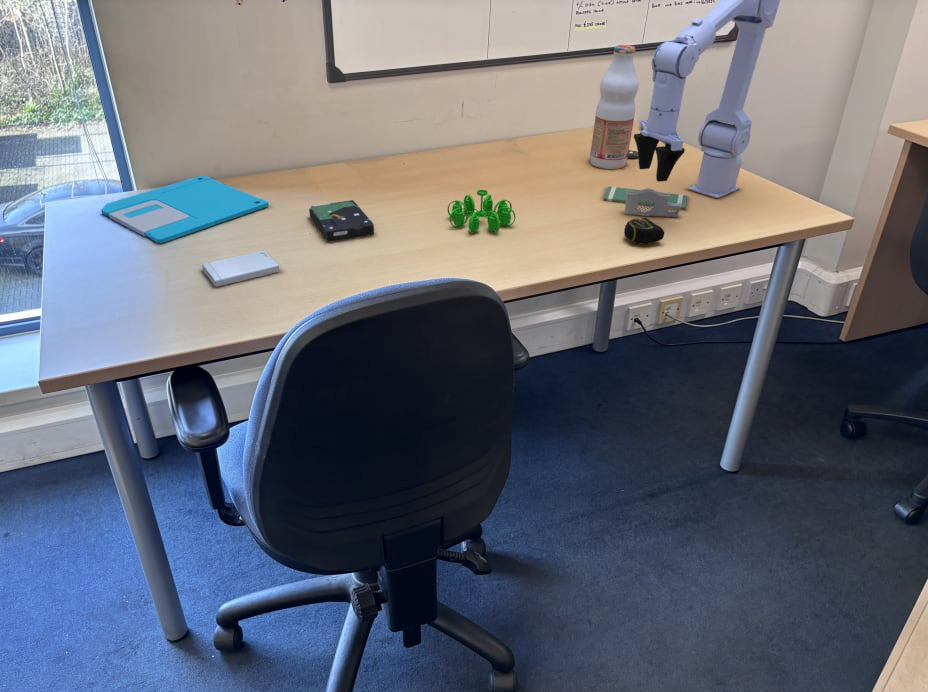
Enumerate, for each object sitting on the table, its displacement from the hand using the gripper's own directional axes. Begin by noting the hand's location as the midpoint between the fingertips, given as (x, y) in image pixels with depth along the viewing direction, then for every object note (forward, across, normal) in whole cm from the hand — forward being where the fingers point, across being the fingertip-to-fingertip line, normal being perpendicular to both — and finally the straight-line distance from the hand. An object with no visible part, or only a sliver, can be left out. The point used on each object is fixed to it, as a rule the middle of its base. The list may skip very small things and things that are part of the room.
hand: (652, 174), depth 156 cm
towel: (+10, -11, +6) cm, 15 cm away
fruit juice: (+10, -35, +8) cm, 38 cm away
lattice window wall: (+10, -2, +2) cm, 10 cm away
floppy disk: (+10, -29, -98) cm, 103 cm away
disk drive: (+10, -11, -65) cm, 67 cm away
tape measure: (+10, +10, -6) cm, 15 cm away
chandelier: (+10, -6, -36) cm, 37 cm away
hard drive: (+10, +6, -87) cm, 87 cm away
